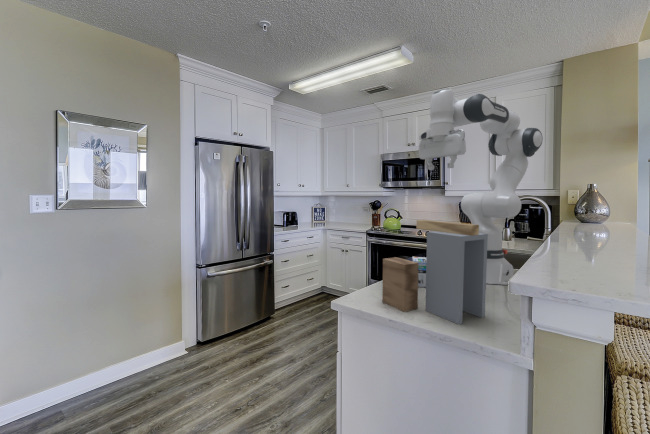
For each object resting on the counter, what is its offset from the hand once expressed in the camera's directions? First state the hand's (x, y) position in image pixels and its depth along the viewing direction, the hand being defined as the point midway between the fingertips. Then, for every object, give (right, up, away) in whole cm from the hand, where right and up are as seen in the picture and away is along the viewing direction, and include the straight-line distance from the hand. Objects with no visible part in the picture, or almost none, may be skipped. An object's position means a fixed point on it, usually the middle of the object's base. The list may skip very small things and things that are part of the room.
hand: (440, 169), depth 124 cm
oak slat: (-6, -23, -20) cm, 31 cm away
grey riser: (-4, -50, -22) cm, 54 cm away
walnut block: (-19, -49, -14) cm, 55 cm away
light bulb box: (-4, -48, +12) cm, 49 cm away
